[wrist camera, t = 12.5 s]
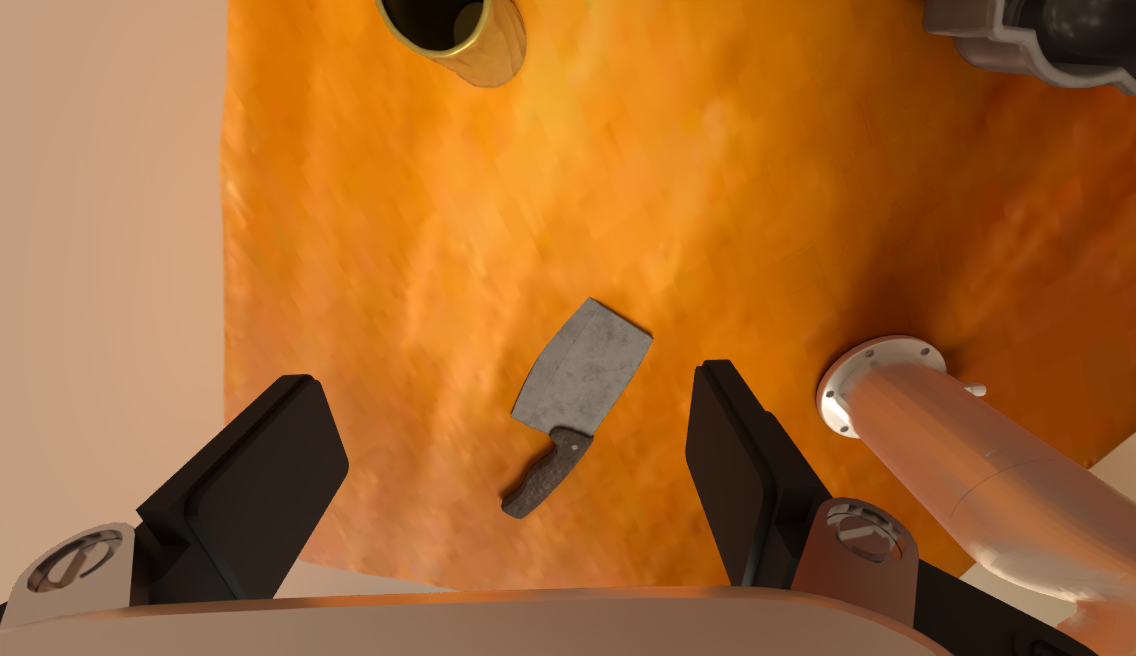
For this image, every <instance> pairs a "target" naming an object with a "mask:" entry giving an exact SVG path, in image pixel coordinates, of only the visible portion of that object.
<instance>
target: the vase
mask: <svg viewBox="0 0 1136 656" xmlns="http://www.w3.org/2000/svg"><path fill="white" fill-rule="evenodd" d="M375 3H376V6H377V9H378V11H379V13H380V15H381V16H382V18H383V20H384V22H385V24H386V25H387V27H388V28H389V30H390V32H391V33H392V34H393V35H394V36H395V37H396V38H397V39H398V40H399V41H400V42H402V43H403V44H405V45H406V46H407V47H409V48H410V49H411V50H413V51H415V52H416V53H418V54H420V55H423V56H425V57H427V58H428V59H430V60H432V61H434V62H436V63H438V64H440V65H442V66H444V67H446V68H448V69H449V70H451V71H454V72H456V73H457V75H459V76H460V77H461V78H462V79H463V80H465V81H466V82H468V83H470V84H472V85H474V86H476V87H481V88H497V87H500V86H502V85H504V84H506V83H507V82H509V81H510V80H512V79H513V78H514V76H515V75H516V74H517V72H518V71H519V69H520V68H521V66H522V64H523V62H524V58H525V54H526V30H525V26H524V23H523V20H522V18H521V16H520V13H519V12H518V10H517V8H516V7H515V5H514V4H513V3H512V2H511V0H375Z"/></svg>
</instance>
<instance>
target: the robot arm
mask: <svg viewBox="0 0 1136 656" xmlns="http://www.w3.org/2000/svg"><path fill="white" fill-rule="evenodd" d="M985 393H986V388H985V386H984V385H983V384H982V383H980V382H971V383H961V382H960V381H958V380H957V379H955V378H954V377H952V376H951V375H949V374H948V373H946V365H945V361H944V359H943V357H942V355H941V354H940V352H939V351H937V350H936V349H935V348H934V347H933V346H931V345H930V344H928V343H927V342H925V341H923V340H921V339H918V338H916V337H913V336H906V335H889V336H884V337H879V338H875V339H872V340H869V341H867V342H864V343H862V344H860V345H858V346H856V347H854V348H852V349H851V350H850V351H848V352H847V353H845V354H844V355H842V356H841V357H840V358H839V359H838V360H837V361H836V362H835V363H834V364H833V365H832V366H831V367H830V368H829V370H828V371H827V372H826V373H825V375H824V377H823V379H822V380H821V382H820V385H819V388H818V391H817V397H816V403H817V410H818V412H819V414H820V416H821V418H822V419H823V420H824V421H825V423H826V424H827V425H828V426H829V427H830V428H831V429H832V430H833V431H835V432H837V433H839V434H841V435H844V436H847V437H852V438H861V439H862V441H863V442H864V443H865V444H866V445H867V446H868V447H869V448H870V449H871V450H872V451H873V452H874V453H875V454H876V456H877V457H878V458H879V459H880V460H881V461H882V462H883V463H884V464H885V465H886V466H887V467H888V468H889V469H890V471H891V472H892V473H893V474H894V475H895V476H896V477H897V478H898V479H899V480H900V481H901V482H902V483H903V484H904V486H905V487H906V488H907V489H908V490H909V491H910V492H911V493H912V494H913V495H914V496H915V497H916V498H917V499H918V501H919V502H920V503H921V504H922V505H923V506H924V507H925V508H926V509H927V510H928V511H929V512H930V513H931V514H932V516H933V517H934V518H935V519H936V520H937V521H938V522H939V523H940V524H941V525H942V526H943V527H944V528H945V529H946V531H947V532H948V533H949V534H950V535H951V536H952V537H953V538H954V539H955V540H956V541H957V542H958V544H959V545H960V546H961V547H962V548H963V549H964V550H965V551H966V552H967V553H968V554H969V555H970V556H971V557H972V558H973V559H974V560H975V561H977V562H978V563H979V564H981V565H982V566H983V567H984V568H986V569H987V570H989V571H991V572H992V573H994V574H996V575H997V576H999V577H1001V578H1003V579H1005V580H1008V581H1010V582H1012V583H1014V584H1017V585H1019V586H1022V587H1025V588H1027V589H1030V590H1033V591H1037V592H1040V593H1043V594H1047V595H1050V596H1053V597H1057V598H1060V599H1063V600H1067V601H1070V602H1074V603H1075V604H1076V606H1077V607H1076V611H1075V612H1074V613H1073V615H1072V616H1070V617H1069V618H1067V619H1066V620H1064V621H1063V622H1061V623H1059V624H1058V625H1057V627H1055V628H1053V627H1051V626H1049V625H1047V624H1045V623H1043V622H1042V621H1039V620H1038V619H1036V618H1034V617H1032V616H1030V615H1028V614H1026V613H1024V612H1022V611H1020V610H1018V609H1016V608H1014V607H1012V606H1010V605H1008V604H1006V603H1005V602H1003V601H1001V600H999V599H996V598H995V597H993V596H991V595H989V594H987V593H985V592H983V591H981V590H979V589H977V588H975V587H973V586H971V585H969V584H967V583H966V582H963V581H961V580H960V579H958V578H956V577H954V576H952V575H950V574H948V573H946V572H944V571H942V570H940V569H938V568H936V567H934V566H932V565H931V564H929V563H927V562H925V561H923V560H921V559H919V554H918V548H917V544H916V542H915V541H914V539H913V537H912V535H911V534H910V532H909V531H908V530H907V529H906V528H905V527H904V526H903V525H902V524H901V523H900V522H899V521H898V520H897V519H895V518H894V517H892V516H891V515H890V514H888V513H887V512H886V511H884V510H882V509H880V508H878V507H876V506H874V505H872V504H870V503H867V502H864V501H861V500H858V499H852V498H844V497H841V498H833V497H832V496H831V494H830V493H829V492H828V490H827V489H826V487H825V486H824V485H823V483H822V482H821V480H820V479H819V478H818V476H817V475H816V473H815V472H814V471H813V469H812V468H811V466H810V465H809V464H808V462H807V461H806V459H805V458H804V457H803V455H802V454H801V452H800V451H799V450H798V448H797V447H796V445H795V444H794V443H793V441H792V440H791V438H790V437H789V436H788V434H787V433H786V431H785V430H784V429H783V427H782V426H781V424H780V423H779V422H778V420H777V419H776V417H775V416H774V415H773V414H772V413H771V412H768V411H765V410H764V409H763V407H762V406H761V404H760V403H759V401H758V400H757V399H756V397H755V396H754V394H753V393H752V391H751V390H750V389H749V387H748V386H747V384H746V383H745V381H744V380H743V378H742V377H741V376H740V374H739V373H738V371H737V370H736V368H735V367H734V365H733V364H732V363H731V361H730V360H727V359H725V360H705V361H704V362H703V365H702V366H697V367H696V369H695V375H694V383H693V391H692V399H691V408H690V416H689V424H688V432H687V440H686V449H685V453H686V461H687V465H688V467H689V470H690V473H691V476H692V478H693V481H694V484H695V487H696V489H697V492H698V495H699V498H700V500H701V503H702V506H703V509H704V511H705V514H706V517H707V520H708V522H709V525H710V528H711V531H712V533H713V536H714V539H715V542H716V544H717V547H718V550H719V553H720V555H721V558H722V561H723V564H724V566H725V569H726V572H727V575H728V577H729V580H730V583H731V586H648V587H607V588H572V589H537V590H503V591H473V592H443V593H415V594H386V595H359V596H358V595H357V596H332V597H309V598H308V597H307V598H282V599H273V597H274V595H275V594H276V592H277V590H278V589H279V587H280V585H281V584H282V582H283V580H284V578H285V577H286V575H287V574H288V572H289V570H290V569H291V567H292V565H293V564H294V562H295V560H296V559H297V557H298V555H299V554H300V552H301V550H302V549H303V547H304V545H305V544H306V542H307V540H308V539H309V537H310V535H311V534H312V532H313V530H314V529H315V527H316V525H317V524H318V522H319V520H320V519H321V517H322V515H323V514H324V512H325V510H326V509H327V507H328V505H329V504H330V502H331V500H332V499H333V497H334V495H335V494H336V492H337V490H338V489H339V487H340V486H341V484H342V482H343V481H344V479H345V477H346V475H347V473H348V468H349V462H348V458H347V455H346V453H345V450H344V447H343V444H342V441H341V439H340V436H339V433H338V430H337V427H336V425H335V422H334V419H333V416H332V413H331V411H330V408H329V405H328V402H327V399H326V397H325V394H324V391H323V388H322V385H321V383H320V382H319V381H318V380H314V378H313V377H312V376H311V375H308V374H300V375H283V376H281V377H280V378H278V379H277V380H276V381H275V382H274V383H273V384H272V385H271V386H270V387H269V388H268V389H266V390H265V391H264V392H263V393H262V394H261V395H260V396H259V397H258V398H257V399H256V400H255V401H253V402H252V403H251V404H250V405H249V406H248V407H247V408H246V409H245V410H244V411H243V412H241V413H240V414H239V415H238V416H237V417H236V418H235V419H234V420H233V421H232V422H231V423H230V424H228V425H227V426H226V427H225V428H224V429H223V430H222V431H221V432H220V433H219V434H218V435H217V436H215V437H214V438H213V439H212V440H211V441H210V442H209V443H208V444H207V445H206V446H205V447H203V449H201V450H200V451H199V452H198V453H197V454H196V455H195V456H194V457H193V458H192V459H190V461H188V462H187V463H186V464H185V465H184V466H183V467H182V468H181V469H180V470H179V471H178V472H176V473H175V474H174V475H173V476H172V477H171V478H170V479H169V480H168V481H167V482H166V483H164V485H162V486H161V487H160V488H159V489H158V490H157V491H156V492H155V493H154V494H153V495H151V496H150V497H149V498H148V499H147V500H146V501H145V502H144V503H143V504H142V505H140V506H139V507H138V508H137V509H136V511H137V512H138V514H139V515H140V517H141V518H142V520H143V522H142V523H141V524H140V525H139V526H137V527H136V529H134V528H133V527H132V526H131V525H129V524H127V523H110V524H105V525H100V526H97V527H94V528H91V529H88V530H85V531H83V532H81V533H79V534H77V535H75V536H72V537H70V538H68V539H66V540H65V541H63V542H61V543H59V544H58V545H56V546H55V547H53V548H51V549H50V550H49V551H47V552H46V553H44V554H43V555H42V556H40V557H39V558H38V559H37V560H35V561H34V562H33V563H31V565H30V566H29V567H28V568H27V569H26V570H25V571H24V572H23V573H22V574H21V575H20V576H19V578H18V580H17V581H16V583H15V585H14V586H13V588H12V592H11V595H10V597H9V601H7V602H5V603H3V604H1V605H0V656H1136V502H1135V501H1134V500H1132V499H1130V498H1129V497H1127V496H1126V495H1124V494H1123V493H1121V492H1119V491H1118V490H1116V489H1115V488H1113V487H1112V486H1110V485H1109V484H1107V483H1106V482H1104V481H1103V480H1101V479H1100V478H1098V477H1097V476H1095V475H1093V474H1092V473H1091V472H1089V471H1088V470H1086V469H1085V468H1083V467H1082V466H1080V465H1078V464H1077V463H1075V462H1074V461H1072V460H1071V459H1069V458H1068V457H1066V456H1065V455H1063V454H1062V453H1060V452H1059V451H1057V450H1056V449H1054V448H1053V447H1051V446H1050V445H1048V444H1047V443H1045V442H1044V441H1042V440H1041V439H1039V438H1038V437H1036V436H1035V435H1033V434H1032V433H1030V432H1029V431H1028V430H1026V429H1025V428H1023V427H1022V426H1020V425H1019V424H1017V423H1016V422H1014V421H1013V420H1011V419H1010V418H1008V417H1007V416H1005V415H1004V414H1002V413H1001V412H999V411H998V410H996V409H995V408H993V407H992V406H990V405H989V404H987V403H986V402H985V401H983V400H981V399H980V398H978V397H977V396H983V395H984V394H985Z"/></svg>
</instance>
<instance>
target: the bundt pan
mask: <svg viewBox="0 0 1136 656" xmlns="http://www.w3.org/2000/svg"><path fill="white" fill-rule="evenodd" d="M922 26H923V29H924V31H926V32H927V33H930V34H936V35H947V36H953V39H954V44H955V46H956V49H957V51H958V52H959V54H960V55H961V56H962V57H963V58H964V59H965V60H966V61H967V62H968V63H970V64H971V65H973V66H975V67H978V68H981V69H984V70H987V71H994V72H1004V73H1014V74H1025V75H1033V76H1035V77H1037V78H1039V79H1040V80H1042V81H1044V82H1045V83H1047V84H1050V85H1054V86H1057V87H1061V88H1088V87H1095V86H1099V85H1108V86H1115V87H1117V88H1118V89H1119V90H1120V91H1121V92H1122V93H1124V94H1126V95H1136V0H926V5H925V10H924V15H923V20H922Z"/></svg>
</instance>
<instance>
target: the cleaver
mask: <svg viewBox="0 0 1136 656" xmlns="http://www.w3.org/2000/svg"><path fill="white" fill-rule="evenodd" d="M653 339H654V338H653V337H652V336H651V335H649V334H647V333H646V332H644V331H643V330H641V329H640V328H638V327H636V326H635V325H633V324H632V323H630V322H628V321H627V320H625V319H624V318H622V317H620V316H619V315H617V314H616V313H614V312H612V311H611V310H609V309H608V308H606V307H604V306H603V305H601V304H600V303H598V302H596V301H595V300H593V299H592V298H590V297H589V298H588V299H587V300H586V301H585V302H584V303H583V304H582V305H581V306H580V308H579V309H578V310H577V311H576V312H575V313H574V314H573V315H572V317H571V318H570V319H569V320H568V321H567V322H566V323H565V324H564V325H563V327H562V328H561V329H560V330H559V331H558V332H557V334H556V335H555V336H554V337H553V338H552V340H551V341H550V342H549V343H548V345H547V346H546V347H545V349H544V350H543V351H542V352H541V354H540V355H539V357H538V358H537V360H536V362H535V364H534V366H533V367H532V369H531V371H530V373H529V375H528V377H527V379H526V381H525V384H524V386H523V388H522V390H521V392H520V395H519V397H518V400H517V402H516V404H515V407H514V410H513V412H512V415H511V417H512V418H514V419H516V420H518V421H520V422H522V423H523V424H525V425H527V426H529V427H532V428H534V429H537V430H539V431H542V432H544V433H547V434H549V436H550V438H551V439H552V440H553V441H554V442H555V443H556V446H555V448H554V449H553V451H552V452H550V453H549V454H548V455H547V456H546V457H544V458H543V459H541V460H540V461H538V462H537V463H535V464H534V465H533V466H532V467H531V468H530V470H529V471H528V473H527V475H526V477H525V479H524V481H523V483H522V485H521V486H520V487H519V488H518V489H517V490H516V491H514V492H513V493H512V494H511V495H509V496H508V497H506V498H505V499H504V500H503V501H502V504H501V508H502V511H504V512H505V513H506V514H508V515H510V516H512V517H514V518H517V519H522V518H524V517H525V516H527V515H528V514H529V513H530V512H532V511H533V510H534V509H535V508H536V507H537V506H538V505H539V504H540V503H541V502H542V501H544V500H545V498H546V497H547V496H548V495H549V494H550V493H551V492H552V491H553V490H554V489H555V488H556V487H557V486H558V485H559V484H560V483H561V482H562V481H563V479H564V478H565V477H566V476H567V475H568V474H569V473H570V471H571V470H572V469H573V468H574V467H575V465H576V464H577V463H578V462H579V460H580V459H581V458H582V456H583V455H584V454H585V452H586V451H587V450H588V448H589V447H590V445H591V443H592V442H593V437H594V436H593V433H594V432H595V430H596V429H597V428H598V426H599V425H600V423H601V422H602V420H603V419H604V418H605V416H606V415H607V413H608V412H609V410H610V409H611V408H612V406H613V405H614V403H615V402H616V400H617V399H618V398H619V396H620V395H621V393H622V392H623V390H624V389H625V387H626V386H627V384H628V383H629V381H630V380H631V378H632V377H633V375H634V374H635V372H636V370H637V369H638V367H639V365H640V364H641V362H642V360H643V358H644V356H645V354H646V353H647V351H648V349H649V347H650V345H651V343H652V341H653Z"/></svg>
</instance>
